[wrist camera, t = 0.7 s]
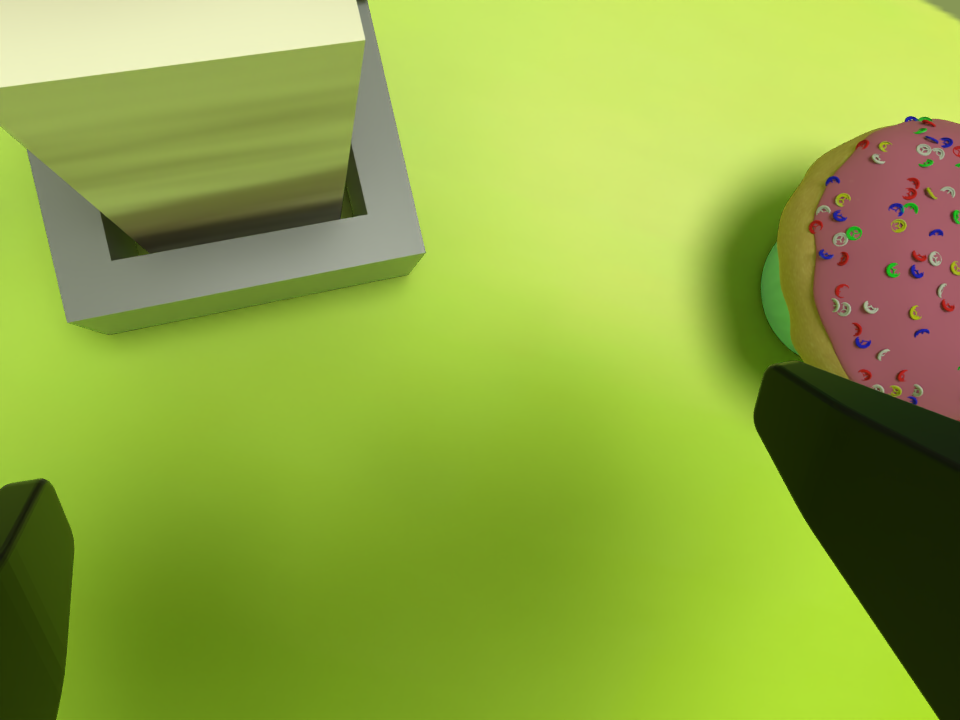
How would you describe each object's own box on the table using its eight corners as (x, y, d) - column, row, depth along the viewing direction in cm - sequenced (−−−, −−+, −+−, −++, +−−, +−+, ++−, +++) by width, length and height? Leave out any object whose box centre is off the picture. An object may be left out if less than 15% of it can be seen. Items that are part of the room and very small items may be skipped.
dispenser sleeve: (408, 274, 22) (430, 246, 18) (108, 334, 20) (55, 319, 16) (352, 31, 22) (360, -54, 18) (46, 69, 20) (-23, -16, 16)
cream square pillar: (338, 229, 22) (365, 40, 10) (160, 262, 21) (-40, 92, 9) (307, 95, 22) (298, -248, 10) (127, 121, 21) (-114, -229, 9)
